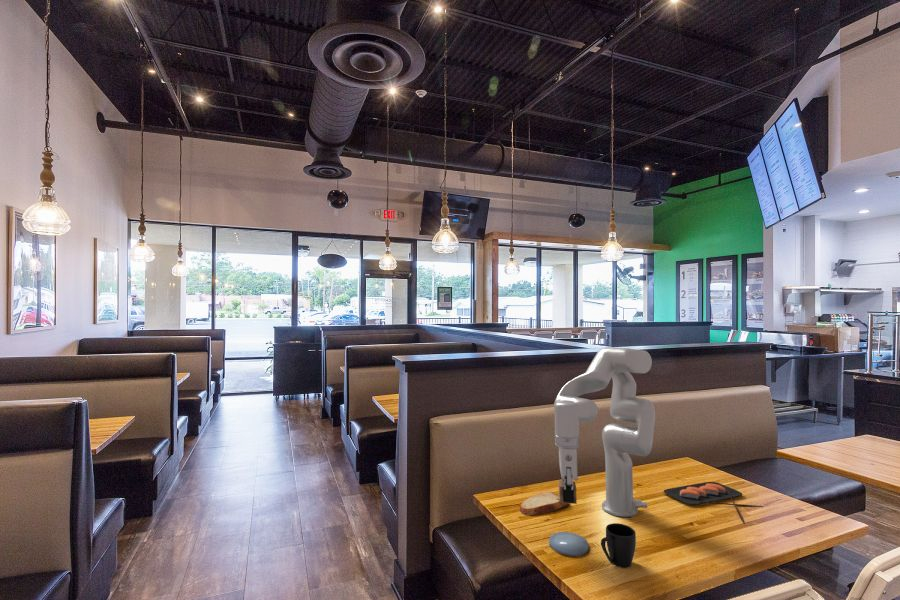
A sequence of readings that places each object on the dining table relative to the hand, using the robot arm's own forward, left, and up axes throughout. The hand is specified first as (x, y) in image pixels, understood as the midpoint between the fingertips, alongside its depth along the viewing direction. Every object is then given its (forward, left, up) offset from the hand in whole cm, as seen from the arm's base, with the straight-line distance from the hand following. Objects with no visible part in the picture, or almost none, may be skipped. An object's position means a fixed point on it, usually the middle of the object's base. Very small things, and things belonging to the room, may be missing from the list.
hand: (567, 497), depth 136 cm
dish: (0, 0, -15) cm, 15 cm away
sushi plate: (-60, -41, -16) cm, 75 cm away
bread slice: (+6, -27, -16) cm, 32 cm away
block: (0, 0, -1) cm, 1 cm away
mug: (-13, +8, -15) cm, 22 cm away
